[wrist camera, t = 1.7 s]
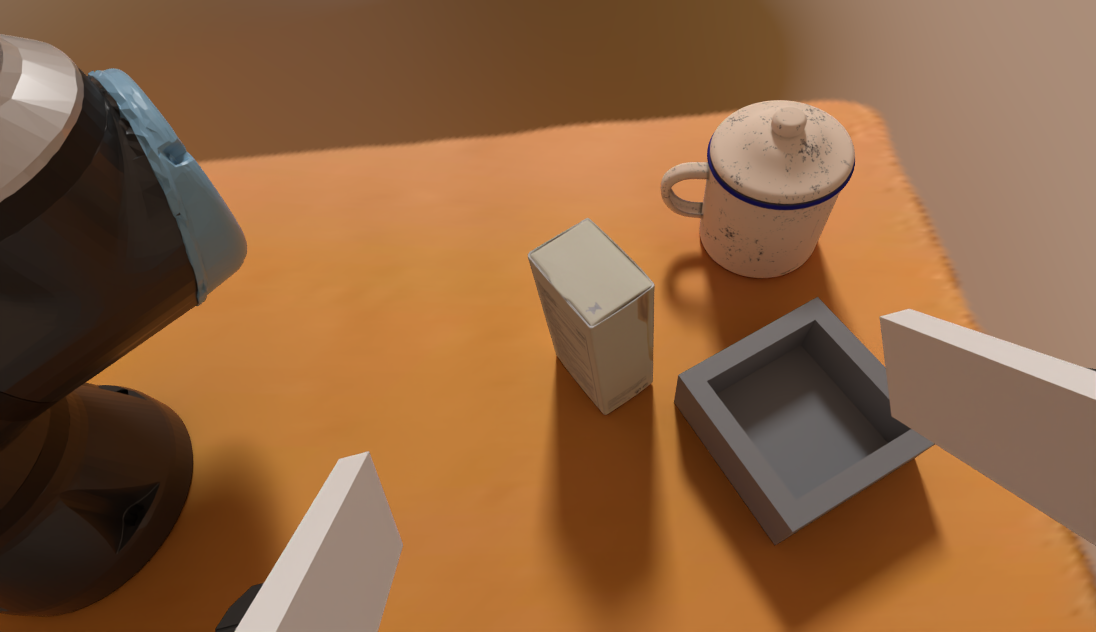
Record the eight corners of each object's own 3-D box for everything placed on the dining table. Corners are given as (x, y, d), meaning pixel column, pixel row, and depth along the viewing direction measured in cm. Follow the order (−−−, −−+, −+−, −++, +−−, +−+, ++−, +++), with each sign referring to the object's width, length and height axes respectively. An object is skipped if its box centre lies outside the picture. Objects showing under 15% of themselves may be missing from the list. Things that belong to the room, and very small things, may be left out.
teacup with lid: (813, 189, 47) (861, 63, 37) (824, 285, 42) (883, 172, 32) (660, 188, 49) (667, 68, 39) (656, 279, 44) (662, 171, 34)
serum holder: (774, 545, 34) (792, 531, 31) (674, 402, 40) (678, 375, 36) (915, 457, 36) (949, 434, 32) (800, 330, 41) (817, 296, 37)
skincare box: (655, 382, 40) (662, 288, 30) (604, 418, 40) (593, 334, 29) (599, 318, 43) (588, 212, 33) (551, 350, 43) (524, 252, 32)
